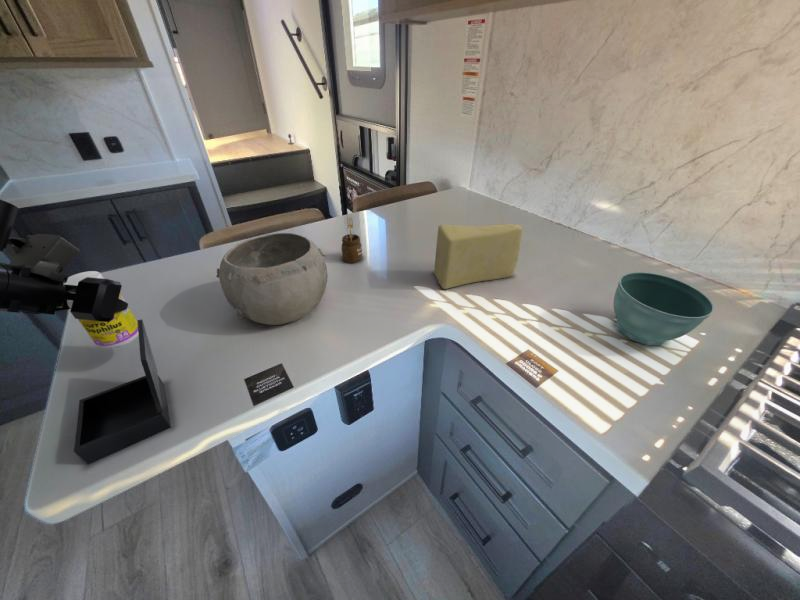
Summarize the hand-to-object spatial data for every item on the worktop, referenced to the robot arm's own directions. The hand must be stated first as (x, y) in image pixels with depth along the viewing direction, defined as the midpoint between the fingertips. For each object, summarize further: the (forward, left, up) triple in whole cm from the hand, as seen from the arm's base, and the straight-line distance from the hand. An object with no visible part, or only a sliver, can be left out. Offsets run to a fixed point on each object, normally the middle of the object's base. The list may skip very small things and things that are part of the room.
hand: (109, 304), depth 55 cm
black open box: (-2, -16, -12) cm, 21 cm away
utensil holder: (+54, +12, -13) cm, 56 cm away
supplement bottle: (-1, -1, -7) cm, 7 cm away
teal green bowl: (+91, -54, -13) cm, 107 cm away
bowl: (+29, +1, -13) cm, 31 cm away
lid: (+4, -16, -3) cm, 17 cm away
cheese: (+77, -17, -13) cm, 80 cm away
